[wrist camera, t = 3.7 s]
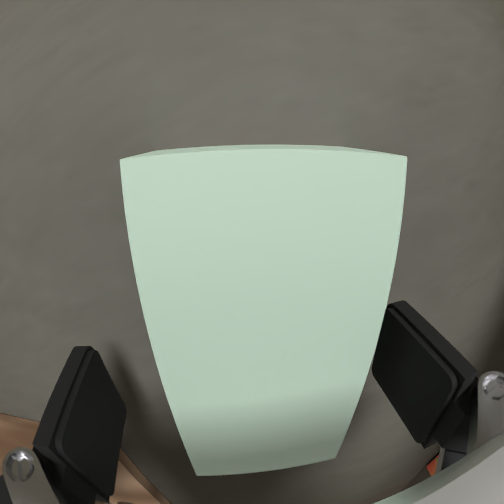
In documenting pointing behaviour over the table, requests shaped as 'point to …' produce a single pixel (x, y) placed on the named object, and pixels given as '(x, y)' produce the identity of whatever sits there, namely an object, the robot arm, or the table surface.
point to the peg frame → (128, 475)
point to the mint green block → (263, 291)
